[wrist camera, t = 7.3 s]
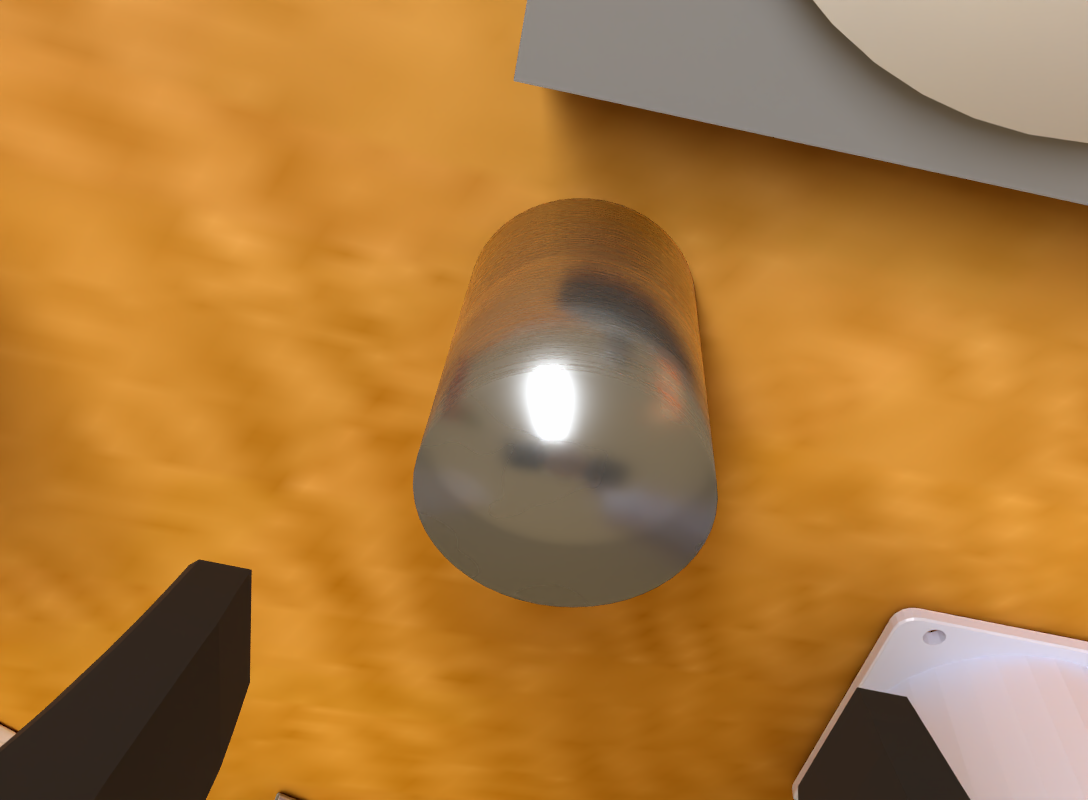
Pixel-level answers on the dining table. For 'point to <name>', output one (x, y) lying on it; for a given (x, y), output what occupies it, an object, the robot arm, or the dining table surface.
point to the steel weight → (572, 413)
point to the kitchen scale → (844, 76)
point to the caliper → (283, 797)
